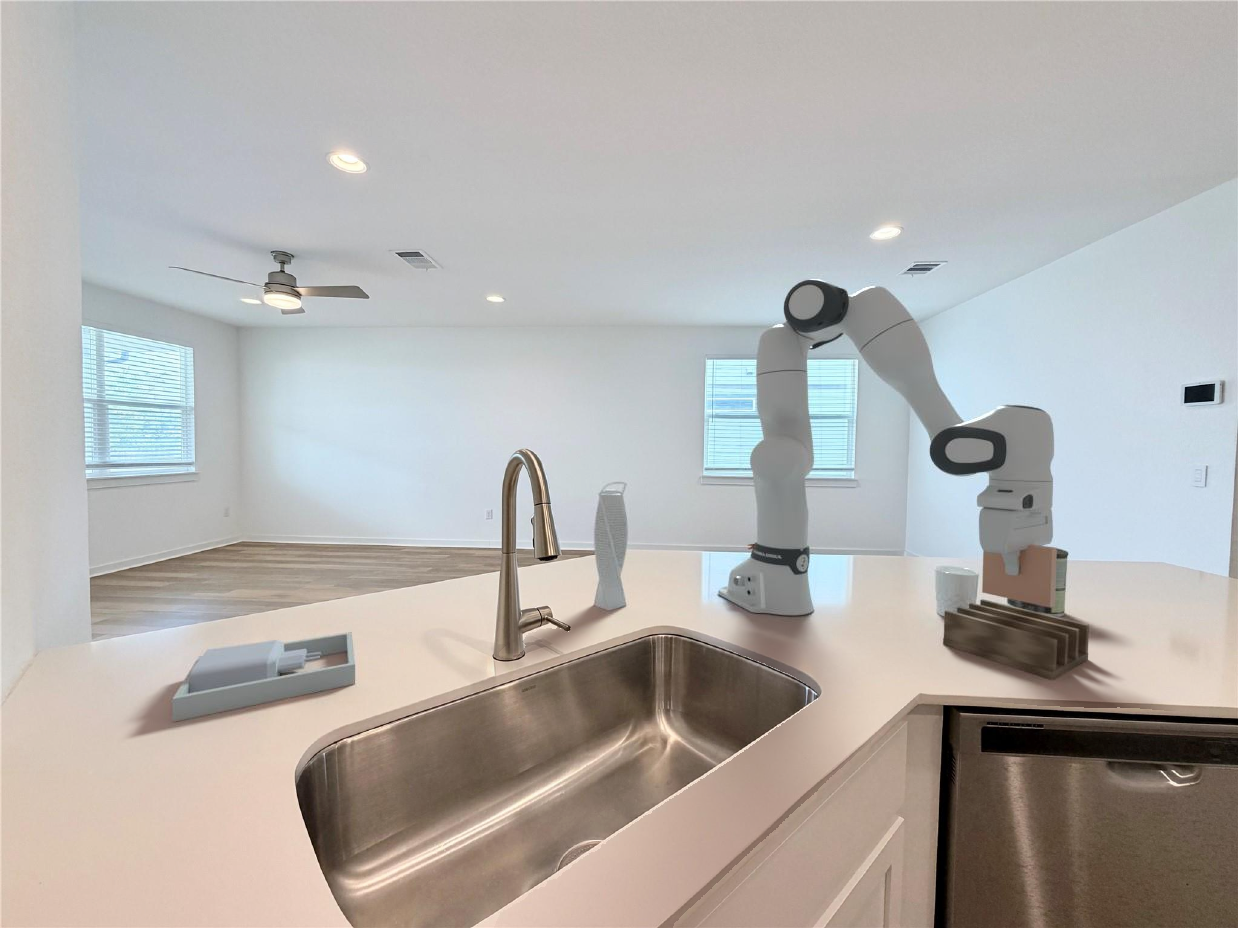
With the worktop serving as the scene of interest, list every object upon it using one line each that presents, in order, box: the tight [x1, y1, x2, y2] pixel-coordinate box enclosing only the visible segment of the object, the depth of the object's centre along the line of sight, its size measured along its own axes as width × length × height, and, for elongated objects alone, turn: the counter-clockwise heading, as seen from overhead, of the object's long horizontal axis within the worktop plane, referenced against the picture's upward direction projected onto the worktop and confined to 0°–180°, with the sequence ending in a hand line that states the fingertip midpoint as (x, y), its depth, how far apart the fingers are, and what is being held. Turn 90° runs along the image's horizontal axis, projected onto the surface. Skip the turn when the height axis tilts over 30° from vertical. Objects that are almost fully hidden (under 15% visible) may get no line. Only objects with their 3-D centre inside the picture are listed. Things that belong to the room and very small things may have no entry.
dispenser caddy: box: [171, 631, 356, 723], centre depth 74 cm, size 15×21×3 cm
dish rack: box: [942, 598, 1090, 681], centre depth 87 cm, size 16×15×6 cm
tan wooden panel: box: [981, 545, 1058, 608], centre depth 87 cm, size 10×2×10 cm, turn 31°
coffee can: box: [1006, 547, 1069, 618], centre depth 111 cm, size 10×10×14 cm
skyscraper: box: [593, 481, 629, 611], centre depth 110 cm, size 8×8×28 cm
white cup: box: [934, 565, 980, 617], centre depth 106 cm, size 8×8×10 cm
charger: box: [190, 639, 321, 693], centre depth 74 cm, size 5×9×15 cm
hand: (1017, 573), depth 87 cm, fingers closed on tan wooden panel, 2 cm apart
